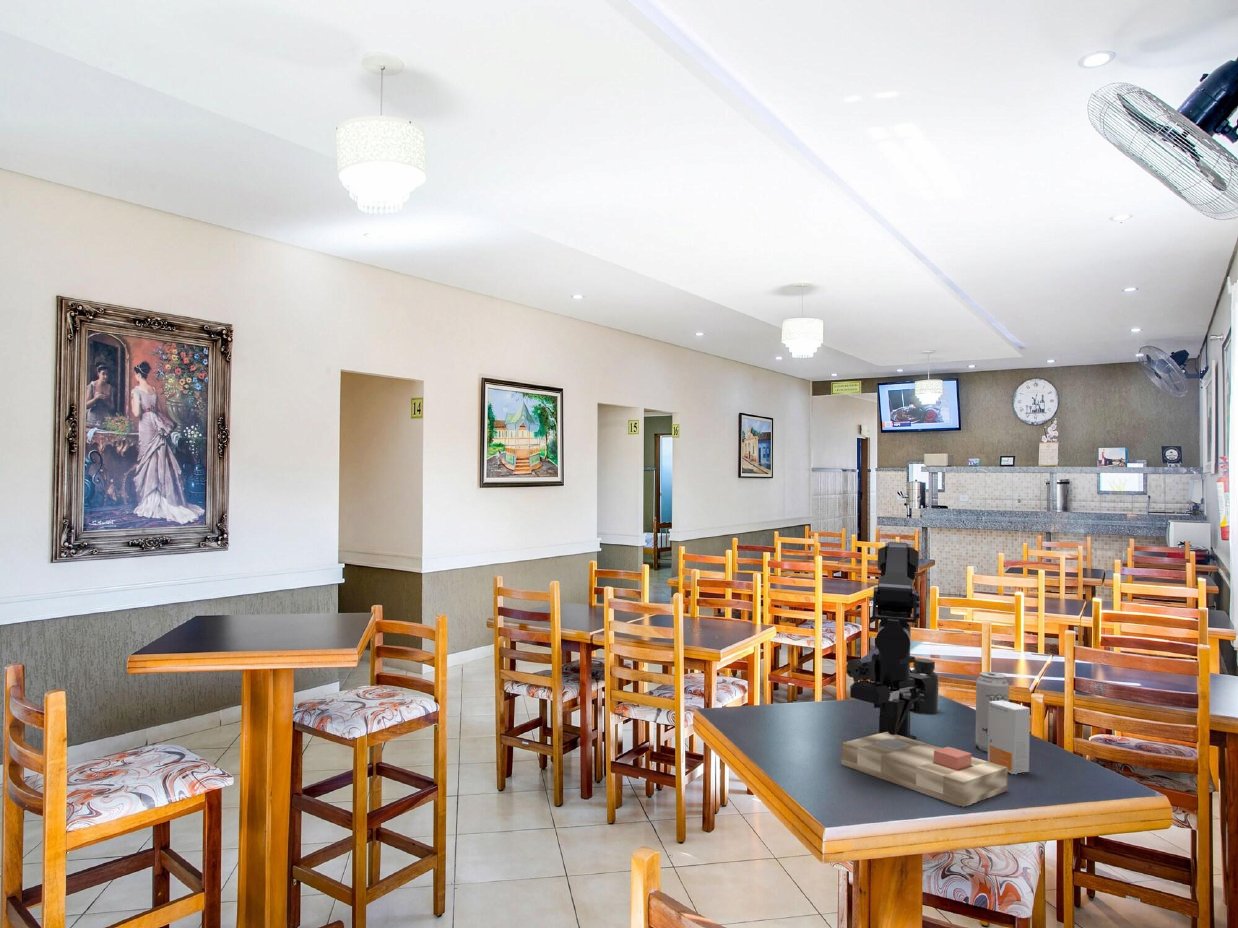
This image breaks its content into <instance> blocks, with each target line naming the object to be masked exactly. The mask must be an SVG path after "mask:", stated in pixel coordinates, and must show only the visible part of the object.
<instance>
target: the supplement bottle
mask: <svg viewBox="0 0 1238 928" xmlns="http://www.w3.org/2000/svg"><path fill="white" fill-rule="evenodd" d="M935 662H936V661H934V660H933V659H928V658H918V657H917V658H916V657H915V662H913V663H912V664H913V665H912V667H913V669H911V671H912V673H914V674H919V675H923V676H928V677H931V678H932V679H933V681H934V682H935V693H931V694H924V692H923V690H920V689H919V690H920V711H916V713H918V714H923V715H934V714H937V712H938V710H939V685H940V682H939V681H940V679H939V675H938V674H937V673H936V672H935V671H934V670H935V669H936V667H935V666H936V665H935Z"/></svg>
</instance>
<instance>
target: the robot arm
mask: <svg viewBox="0 0 1238 928" xmlns="http://www.w3.org/2000/svg"><path fill="white" fill-rule="evenodd" d="M919 553H920V551H918V550H916V549H915V548H913V547H911V543H907V542H897V541H888V542H885V544H884V546H882V547H881V548H878V549H877V564H876V566H877V571H878V572H880V577H878V580H877V586H874V587H873V594H872V595H873V596H872V600H873V601H872V612H871V613H872V614H871V620H874V621H875V620H877V621H879V623H878V630H877V634H876V636H875V646H876V648H877V652H875V653H873V654H872V655H871V661H866V662H865V661H864V662H862V661H861V660H860V658H855V659H849V660H847V662H846V675H847V676H848V677H849V678H852V681H853V683H852V684H851V685H850V686H849V697H850V698H852V699H855V700H860V701H863V702H867V703H870V704H873V708H874V709H879V716H878V731H876V732H873V733H872V735H876V734H880V733H884V732H888V733H889V734H891V735H900V736H903V737H906V738H910V739H913V740H917V736H916V735H913V734H911V713H913V714H914V713H917V712H916V711H920V690H923V692H924V694H931V693H935V682H934V681H933V679H932V678H931V677H928V676H923V675H919V674H914V673H912V671H911V670H912V669H911V664H913V662H915V659H916V656H913V655H911V637H912V636H911V632H912V631H911V627H912V625H910V623H914V624H916V623H917V619H920V618H921V617H920V616H921V615H920V614H921V613H920V612H921V596H920V594H918V593H919V591H918V590H917V589H914V588H913V585H914V584H915V581H916V579H915V577H916V574H919V571H920V570H919V569H920V568H919V567H920V566H919V565H920V561H919V557H920V554H919ZM919 689H920V690H919Z"/></svg>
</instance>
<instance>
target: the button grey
mask: <svg viewBox="0 0 1238 928" xmlns="http://www.w3.org/2000/svg"><path fill="white" fill-rule="evenodd" d="M875 745H877V746H881V747H884V748H887V749H890V750H893V751H899V750H903V749H907V748H910V744H908V743H904V742H901V741H898V740H894V739H891V738H887V739H883V740H879V741H875Z"/></svg>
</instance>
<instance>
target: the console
mask: <svg viewBox="0 0 1238 928" xmlns="http://www.w3.org/2000/svg"><path fill="white" fill-rule="evenodd" d="M887 738H891V739H894V740H898V741H901V742H904V743H908V744H910V748H907V749H903V750H899V751H893V750H890V749H887V748H884V747H881V746H877V745H875V741H879V740H883V739H887ZM941 748H942V747H939V746H935V745H934V744H933V745H932V744H929V743H926V742H923V741H919V740H917V739H915V740H913V739H910V738H906V737H903V736H900V735H891V734H889V733H888V732H884V733H880V734H876V735H873V734H871V735H868V736H864V737H860V738H855V739H852V740H847V741H843V742H841V759H840V760H841V765H842V766H844V767H847V768H850V769H854V770H856V771H859V772H862V773H865V774H867V775H870V776H874V777H875V778H878V779H882V780H884V781H888V782H889V783H893V784H896V785H899V786H901V787H904V788H907V789H910V790H913V791H915V792H918V793H921V794H924V795H927V796H929V797H932V798H936V799H938V800H941V801H944V802H946V803H949V804H952V805H955V806H958V807H960V806H962V807H961V808H966V807H968V806H971V805H973V803H974V804H976V803H978V801H979V802H981V800H982V801H983V800H986V798H987V799H989V798H992V797H995V796H997V795H1000V794H1003V793H1005V792H1008V772H1007V767H1004V766H1001V765H997V764H994V763H991V762H987V760H984V759H980V758H977V757H973V756H972V762H971V767H969V768H966V769H963V770H960V771H956V770H953V769H950V768H947V767H944V766H941V765H937V764H934V750H938V749H941ZM965 806H966V807H965Z"/></svg>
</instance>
